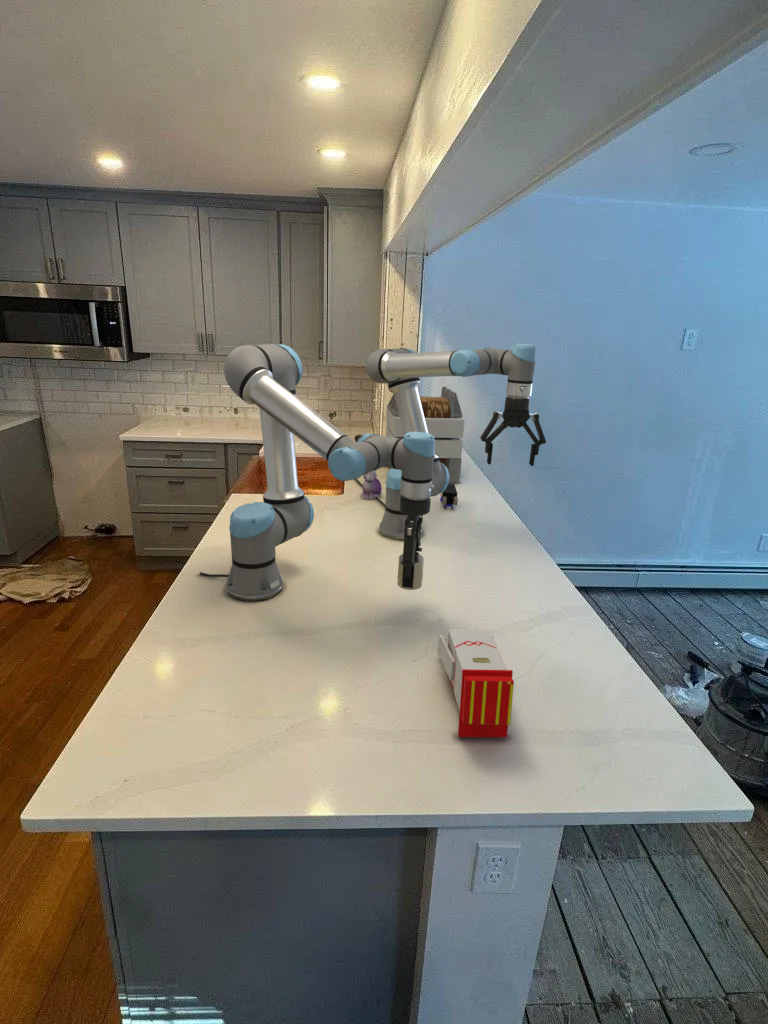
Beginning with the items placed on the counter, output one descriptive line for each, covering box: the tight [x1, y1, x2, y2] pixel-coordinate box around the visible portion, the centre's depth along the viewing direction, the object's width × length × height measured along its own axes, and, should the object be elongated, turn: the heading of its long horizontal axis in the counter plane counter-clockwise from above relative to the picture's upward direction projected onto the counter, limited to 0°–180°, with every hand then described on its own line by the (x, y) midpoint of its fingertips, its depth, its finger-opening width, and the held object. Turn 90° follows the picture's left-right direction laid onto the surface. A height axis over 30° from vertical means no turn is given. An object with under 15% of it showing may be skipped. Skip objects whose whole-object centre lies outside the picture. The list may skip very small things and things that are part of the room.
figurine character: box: [439, 483, 459, 510], centre depth 230 cm, size 7×8×15 cm
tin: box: [396, 553, 425, 591], centre depth 146 cm, size 6×6×8 cm
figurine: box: [361, 470, 383, 500], centre depth 235 cm, size 9×10×15 cm
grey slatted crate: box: [385, 386, 465, 484], centre depth 268 cm, size 34×33×41 cm
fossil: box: [353, 433, 365, 443], centre depth 306 cm, size 22×10×15 cm
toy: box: [437, 628, 515, 738], centre depth 117 cm, size 12×13×30 cm
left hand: (409, 580), depth 146 cm, fingers closed on tin, 6 cm apart
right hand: (510, 464), depth 180 cm, fingers open, 13 cm apart
